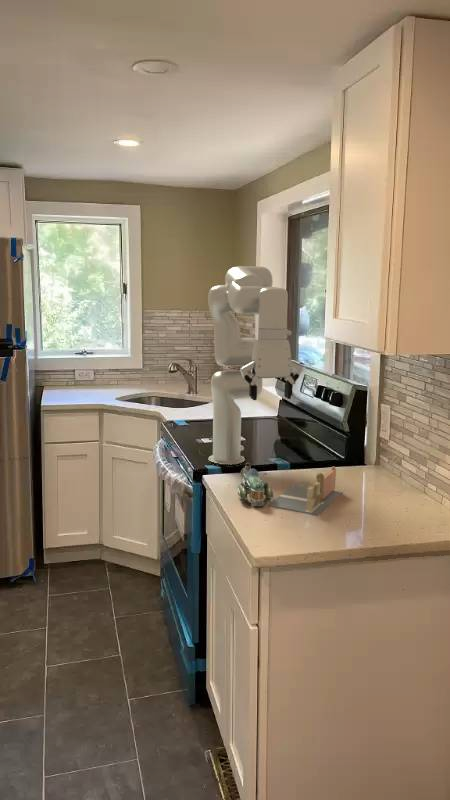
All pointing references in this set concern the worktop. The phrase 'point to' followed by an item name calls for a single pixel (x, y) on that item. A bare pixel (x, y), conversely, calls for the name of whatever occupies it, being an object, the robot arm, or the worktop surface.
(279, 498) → the card
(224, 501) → the worktop surface
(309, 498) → the fence post
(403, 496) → the worktop surface
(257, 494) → the hoverbike
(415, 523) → the worktop surface
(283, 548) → the worktop surface
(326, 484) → the fold panel
